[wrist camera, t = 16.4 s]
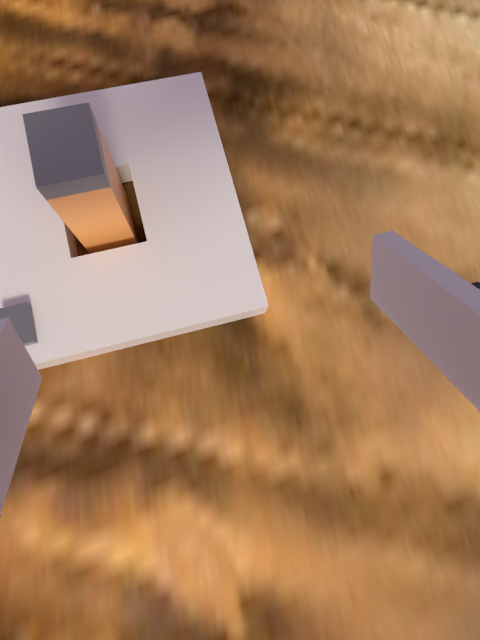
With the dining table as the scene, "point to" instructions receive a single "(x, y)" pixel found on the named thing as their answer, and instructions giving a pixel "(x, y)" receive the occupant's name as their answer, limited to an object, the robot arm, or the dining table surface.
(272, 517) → the dining table surface
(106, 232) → the two-tone grey orange block
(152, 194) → the socket
